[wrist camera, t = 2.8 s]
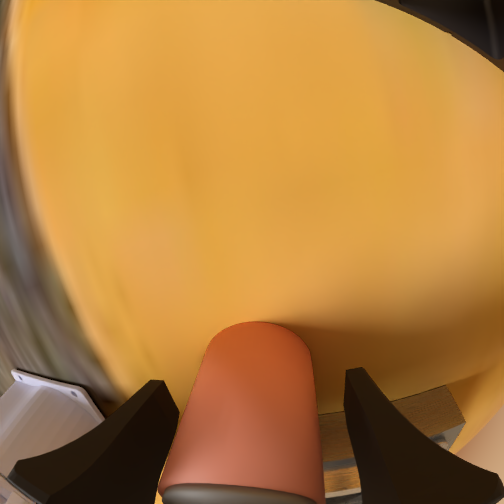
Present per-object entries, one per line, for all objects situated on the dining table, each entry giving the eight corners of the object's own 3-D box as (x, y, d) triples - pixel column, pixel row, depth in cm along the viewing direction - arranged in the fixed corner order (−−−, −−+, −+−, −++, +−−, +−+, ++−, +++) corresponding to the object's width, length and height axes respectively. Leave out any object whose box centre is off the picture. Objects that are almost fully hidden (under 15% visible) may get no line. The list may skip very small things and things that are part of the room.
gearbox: (257, 482, 15) (252, 530, 11) (231, 420, 13) (218, 491, 8) (411, 459, 14) (423, 503, 10) (445, 385, 11) (476, 442, 7)
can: (218, 400, 12) (188, 525, 6) (193, 325, 11) (124, 474, 4) (313, 394, 12) (323, 529, 5) (308, 315, 10) (331, 488, 4)
